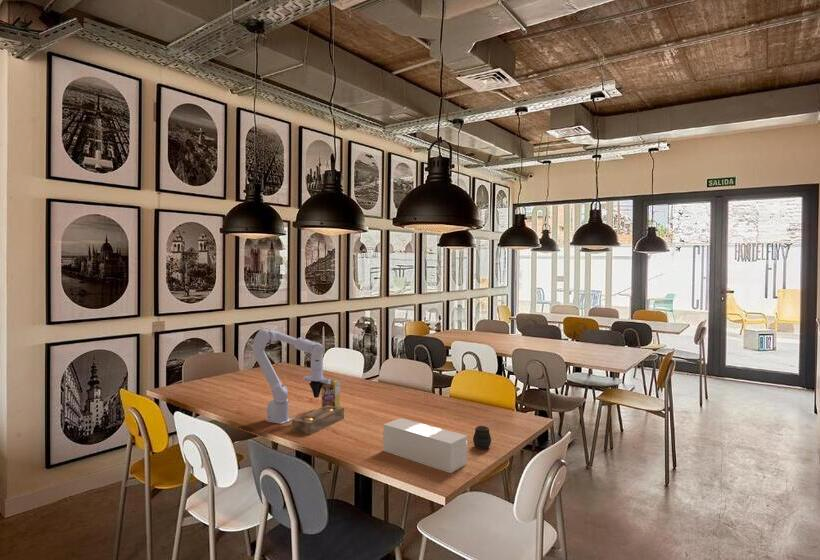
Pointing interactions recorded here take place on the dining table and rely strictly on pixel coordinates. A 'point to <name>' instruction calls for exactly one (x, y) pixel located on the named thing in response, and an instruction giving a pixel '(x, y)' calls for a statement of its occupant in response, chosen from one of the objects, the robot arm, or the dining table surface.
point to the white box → (425, 444)
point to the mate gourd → (482, 437)
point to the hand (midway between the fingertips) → (316, 397)
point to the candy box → (331, 393)
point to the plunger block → (317, 420)
